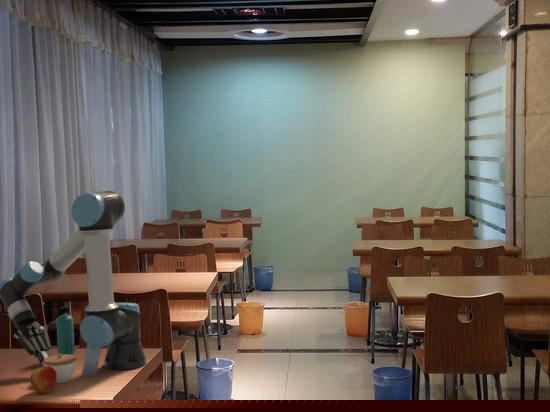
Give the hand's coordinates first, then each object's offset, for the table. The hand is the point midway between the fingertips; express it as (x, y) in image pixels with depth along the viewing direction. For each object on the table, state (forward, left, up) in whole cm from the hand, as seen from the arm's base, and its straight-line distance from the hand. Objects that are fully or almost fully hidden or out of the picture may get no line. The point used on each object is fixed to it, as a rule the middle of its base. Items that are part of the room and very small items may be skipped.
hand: (49, 368), depth 255 cm
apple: (-6, +16, -4) cm, 18 cm away
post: (-12, -5, -3) cm, 14 cm away
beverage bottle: (+7, -26, -4) cm, 27 cm away
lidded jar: (-5, +3, -4) cm, 7 cm away
